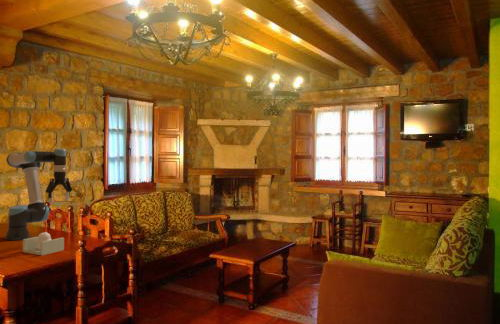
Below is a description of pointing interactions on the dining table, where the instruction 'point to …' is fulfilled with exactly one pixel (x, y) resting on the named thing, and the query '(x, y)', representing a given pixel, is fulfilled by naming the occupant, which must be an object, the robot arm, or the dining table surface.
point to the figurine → (42, 240)
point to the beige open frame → (43, 246)
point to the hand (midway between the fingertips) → (59, 201)
